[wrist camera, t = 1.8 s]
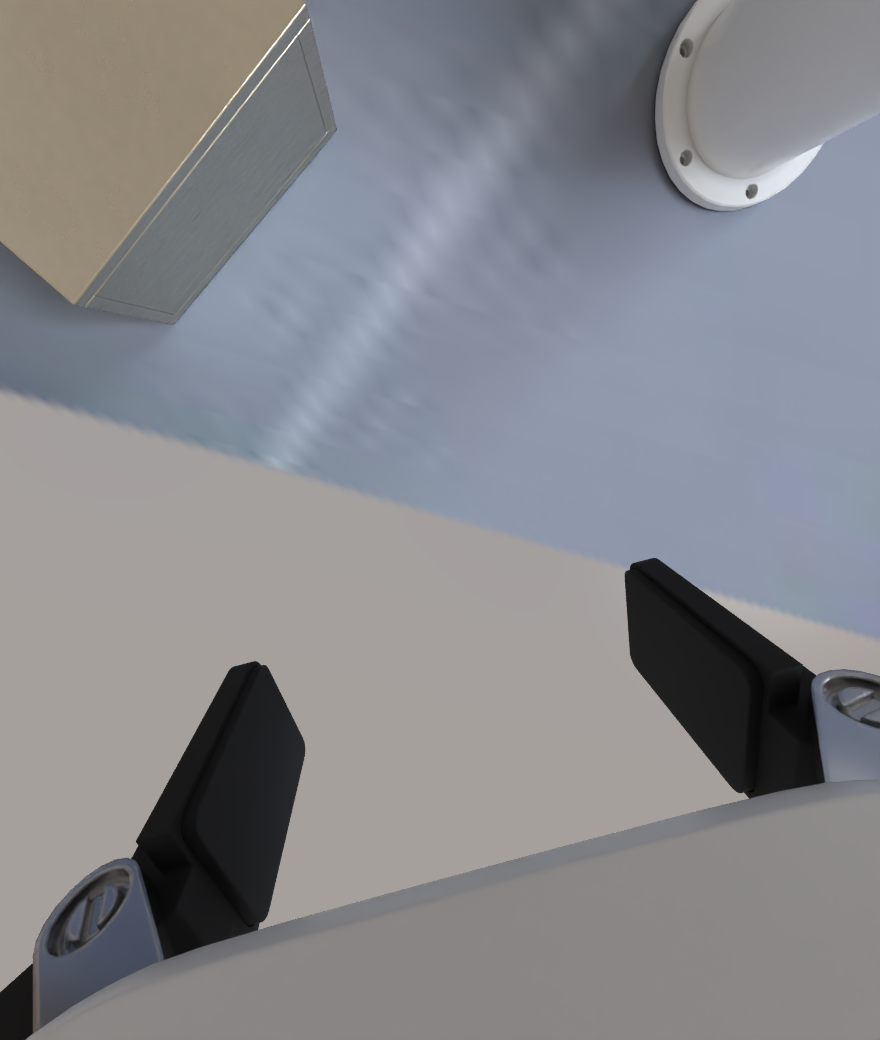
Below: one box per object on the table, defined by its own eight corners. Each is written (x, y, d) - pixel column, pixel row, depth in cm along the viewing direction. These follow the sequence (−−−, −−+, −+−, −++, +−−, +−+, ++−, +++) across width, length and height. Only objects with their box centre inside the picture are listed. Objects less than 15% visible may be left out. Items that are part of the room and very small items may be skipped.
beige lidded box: (-66, 102, 23) (-352, -62, 14) (105, -171, 21) (-118, -584, 12) (174, 324, 28) (73, 305, 20) (337, 130, 26) (307, 3, 17)
